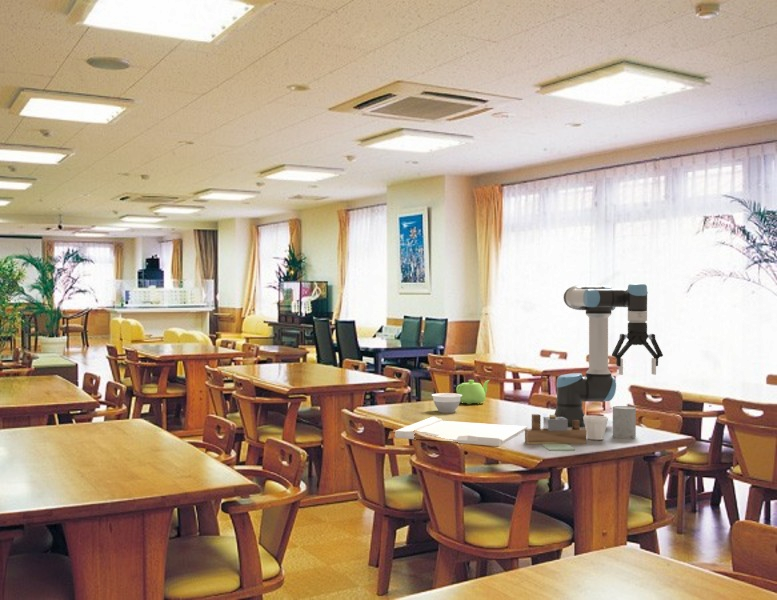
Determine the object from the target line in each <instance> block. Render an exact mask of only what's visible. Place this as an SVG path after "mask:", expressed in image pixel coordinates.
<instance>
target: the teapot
mask: <svg viewBox="0 0 777 600" xmlns="http://www.w3.org/2000/svg"><path fill="white" fill-rule="evenodd" d="M490 380H491V379H487V380H485V381H484V383H483V385H482V384H481V383H480V382H475V380H474V379H468V380H467V381H468V382H462V383H460V384H458V385H457V386H455V387H456V389H455V390H456V394H461V395H462V396H461V397H460V403H462V402H463V403H462V404H466V405H467V404H471V405H472V404H476V403H481V404H482V403H484V402H485V400H486V394H487V392H488V383H489V382H490Z"/></svg>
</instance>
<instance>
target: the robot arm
mask: <svg viewBox="0 0 777 600" xmlns="http://www.w3.org/2000/svg"><path fill="white" fill-rule="evenodd" d="M563 301H564V304H565V305H566V306H567V307H569V308H570V309H572V310H575V311H577V310H578V311H585V315H586V316H587V318H588V369H587V371H586V372H585V376H583V374H582V373H581V372H579V373H578V372H577V373H576V372H575V373H567V374H566V373H565V374H561V375H559V376H558V377H557V379H556V409H555V411H554V414H553V415H556V417H564V418H566V419H568V427H570V428H572V420H580V427H585V424H584V420H583V417H584V416H586V415H585V412H584V410H583V409H584V408H583V402H585V403H586V402H601V403H602V402H610V401H612V400H613V399H614V397H615V394H616V391H617V382H616V381H617V380H616V378H615V376H612V372H611V371H610V370H609V317H611V316H612V311H614V310H615V309H616V308H627V321H628V323H627V334H624V333H620V334H619V339H618V340H617V343H616V346H615V347H614V349H613V350H612V354H611V356H612V357H614V358H615V359H616V367H618V375H620V376H623V375H624V358H622V357H623V356H624V354H625V353H626V352H627V351H628V350H629V349H630V347H631V346H644V348H645V349H646V350H647V351H648V352H649V353H650V354H651V357H652V358H651V375H655V376H656V375H657V367H658V366H659V359H660V358H661V357H664V354H663V352H662V350H661V348H660V346H659V344H658V342H657V340H656V334H654V333H650V334H648V323H647V322H648V286H647V284H645V283H628V285H627V288H613V287H611V286H610V285H604V284H594V285H593V284H586V285H584V284H581V285H580V284H578V285H574V286H571V287H569V288H567V289H566V290H565V291H564V294H563ZM626 339H627V340H628V341H626V343H625V345H624V346H623V344H624V342H625V340H626ZM647 339H648V340H650V343H651V345H652V347H653V348H652V347H651V345H650V344H649V342H648V341H647Z"/></svg>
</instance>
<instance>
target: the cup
mask: <svg viewBox="0 0 777 600" xmlns="http://www.w3.org/2000/svg"><path fill="white" fill-rule="evenodd" d="M583 420H584V424H585V426H584V427H585V428H584V429H586V438H587V440H590V441H602V440H604V437H605V433H606V429H607V426H608V425H607V424H608V422H609V421H608V420H609V417H608V416H605V415H585V416H584V417H583Z"/></svg>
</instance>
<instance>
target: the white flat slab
mask: <svg viewBox="0 0 777 600" xmlns="http://www.w3.org/2000/svg"><path fill="white" fill-rule="evenodd" d="M525 429H528V426H526V425H512V424H511V425H510V424H496V423H483V422H482V423H481V422H467V421H452V420H443V418H438V417H436V416H434V415H433V416H431V417H428V418H426V419H423V420H419V421H417V422H415V423H411V424H409V425H407V426H404V427H401V428H399V429H396V430H394V431H395V433H394V438H396V439H408V440H415V439H414V437H415V436H414V434H415V433H416V432H413V431H414V430H417V431H420V433H425V434H428V435H432V436H436V437H441V438H445V439H449V440H453V441H456V442H458V443H457V444H467V445H468V444H469V445H480V446H482V445H483V446H493V447H501V446H502V445H503V444H505V443H507V442H508V441H510V440H512V439H513V438H515V437H517V436H518V435H520V434H521V433H523V432H525Z"/></svg>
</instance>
